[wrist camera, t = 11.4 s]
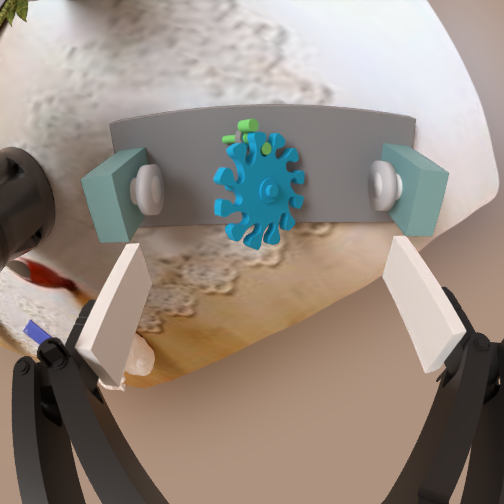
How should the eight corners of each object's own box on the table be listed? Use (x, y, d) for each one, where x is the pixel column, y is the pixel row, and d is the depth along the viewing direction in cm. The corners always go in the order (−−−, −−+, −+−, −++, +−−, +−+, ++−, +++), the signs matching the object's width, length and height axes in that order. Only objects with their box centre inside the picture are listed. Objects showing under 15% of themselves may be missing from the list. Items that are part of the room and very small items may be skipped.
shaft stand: (132, 221, 31) (101, 270, 24) (111, 121, 24) (62, 146, 17) (396, 216, 30) (431, 262, 23) (412, 116, 23) (464, 140, 16)
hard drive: (22, 331, 46) (62, 362, 52) (29, 320, 43) (73, 355, 49) (24, 326, 47) (64, 357, 53) (32, 315, 44) (76, 349, 50)
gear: (314, 226, 28) (237, 272, 22) (270, 216, 32) (197, 253, 26) (302, 112, 23) (209, 126, 17) (256, 117, 27) (169, 134, 21)
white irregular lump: (104, 308, 44) (72, 358, 39) (111, 315, 38) (74, 374, 33) (155, 345, 49) (126, 391, 44) (170, 356, 43) (137, 409, 38)
